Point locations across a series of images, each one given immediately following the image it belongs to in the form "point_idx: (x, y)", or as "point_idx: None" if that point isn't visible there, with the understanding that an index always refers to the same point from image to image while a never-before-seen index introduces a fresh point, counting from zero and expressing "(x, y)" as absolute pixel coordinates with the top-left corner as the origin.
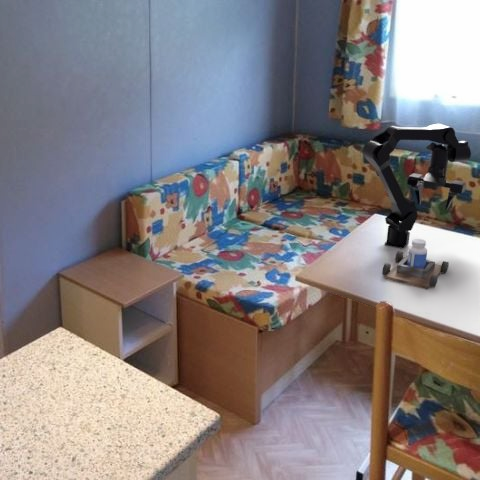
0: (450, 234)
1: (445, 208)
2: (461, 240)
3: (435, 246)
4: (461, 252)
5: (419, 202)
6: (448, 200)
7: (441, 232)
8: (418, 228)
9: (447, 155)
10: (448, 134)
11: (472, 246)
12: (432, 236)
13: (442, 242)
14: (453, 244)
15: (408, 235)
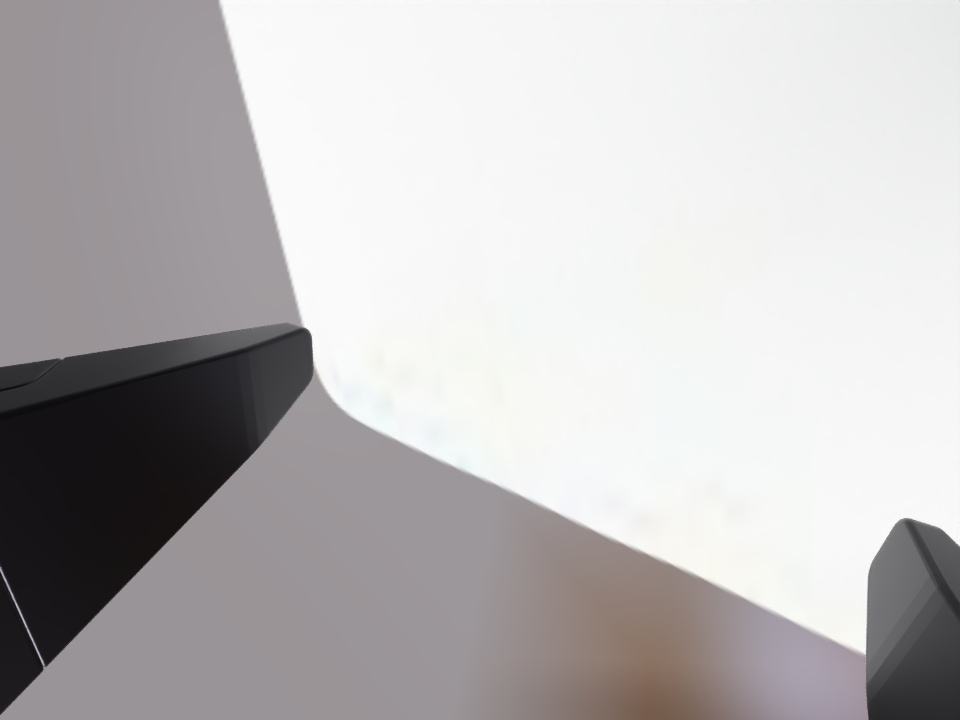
0: (488, 441)
1: (284, 335)
2: (392, 333)
3: (577, 59)
4: (326, 12)
5: (938, 565)
6: (53, 385)
7: (561, 470)
8: (778, 529)
9: None
10: None
11: (296, 226)
12: (630, 355)
13: (523, 223)
14: (427, 209)
15: None
